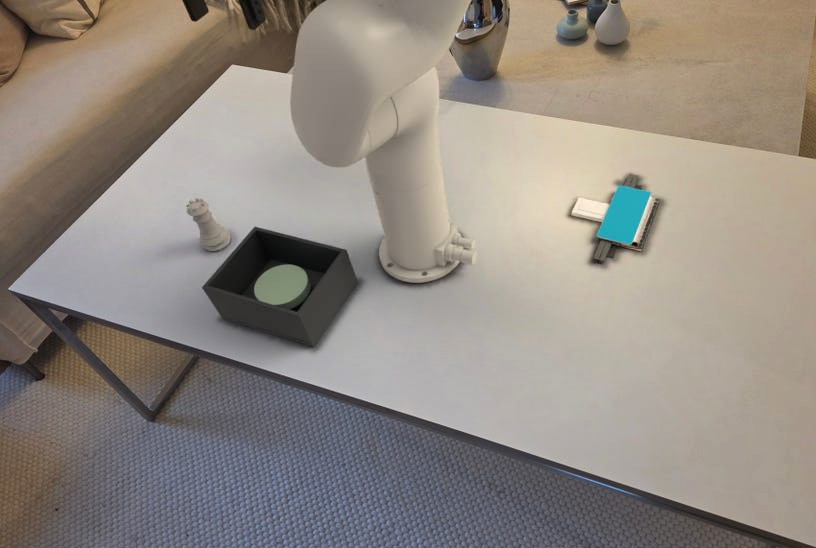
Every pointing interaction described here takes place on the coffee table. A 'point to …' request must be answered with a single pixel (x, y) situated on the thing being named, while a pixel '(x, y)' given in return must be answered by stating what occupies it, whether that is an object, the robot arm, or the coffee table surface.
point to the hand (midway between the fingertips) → (229, 21)
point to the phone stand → (620, 218)
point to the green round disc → (283, 286)
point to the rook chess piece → (208, 226)
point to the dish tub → (269, 250)
